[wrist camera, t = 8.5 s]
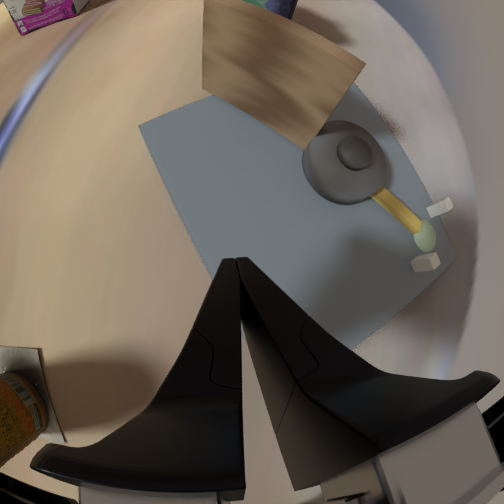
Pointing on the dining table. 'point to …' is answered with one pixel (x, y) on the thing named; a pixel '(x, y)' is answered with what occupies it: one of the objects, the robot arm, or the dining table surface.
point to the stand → (299, 214)
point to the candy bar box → (41, 12)
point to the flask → (277, 6)
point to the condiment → (23, 403)
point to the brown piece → (296, 98)
